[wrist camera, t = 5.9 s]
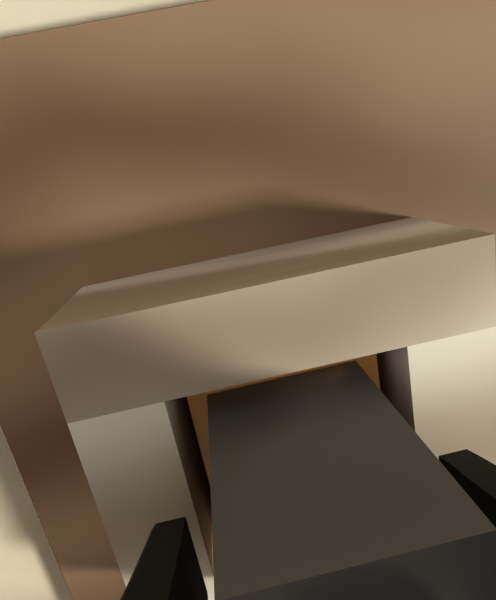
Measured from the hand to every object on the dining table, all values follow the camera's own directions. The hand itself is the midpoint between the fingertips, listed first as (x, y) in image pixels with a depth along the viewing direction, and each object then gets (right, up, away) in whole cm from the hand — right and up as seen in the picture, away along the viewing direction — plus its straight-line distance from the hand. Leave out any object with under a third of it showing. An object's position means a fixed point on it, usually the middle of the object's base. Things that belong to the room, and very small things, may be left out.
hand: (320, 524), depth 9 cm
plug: (0, +1, +2) cm, 2 cm away
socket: (-1, +2, +5) cm, 6 cm away
